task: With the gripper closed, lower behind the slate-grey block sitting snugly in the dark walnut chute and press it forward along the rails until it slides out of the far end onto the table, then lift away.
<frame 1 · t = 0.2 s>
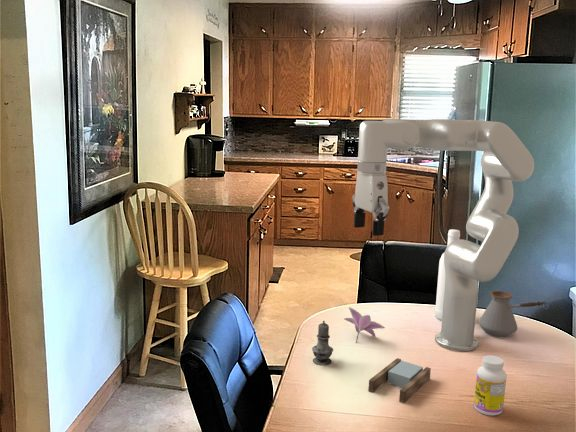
hand: (368, 231, 162), 37 cm above the table, tool pointing down, fingers open, 9 cm apart
coffee pot: (510, 339, 186), on the table
walnut chute: (399, 384, 155), on the table
supplement bottle: (487, 410, 144), on the table
slate block: (404, 381, 157), on the table
bottle: (446, 318, 201), on the table
salt shaker: (322, 361, 167), on the table
lily: (362, 338, 183), on the table
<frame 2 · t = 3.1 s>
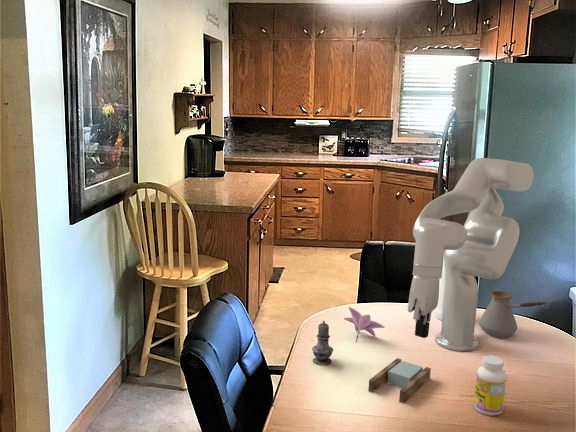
hand: (421, 336, 162), 9 cm above the table, tool pointing down, fingers closed
nothing on the table moved.
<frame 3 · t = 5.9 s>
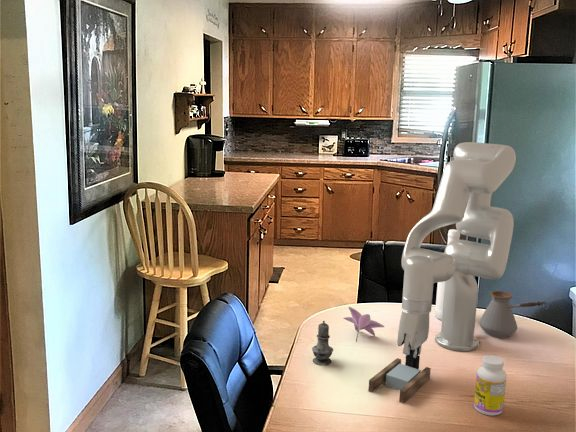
hand: (411, 369, 160), 2 cm above the table, tool pointing down, fingers closed
slate block: (402, 384, 156), on the table, touching gripper
everything else where it was.
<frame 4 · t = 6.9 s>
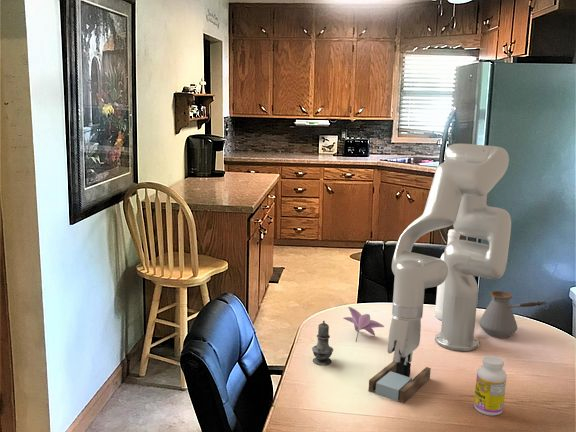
hand: (402, 376, 155), 2 cm above the table, tool pointing down, fingers closed
slate block: (393, 393, 151), on the table, touching gripper
everything else where it was.
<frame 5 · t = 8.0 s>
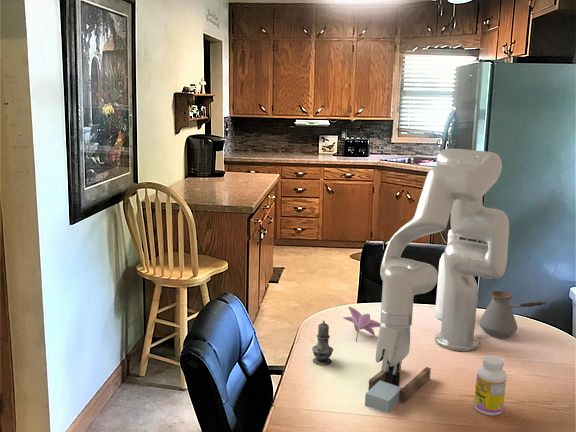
hand: (391, 386, 150), 2 cm above the table, tool pointing down, fingers closed
slate block: (383, 403, 146), on the table, touching gripper
everything else where it was.
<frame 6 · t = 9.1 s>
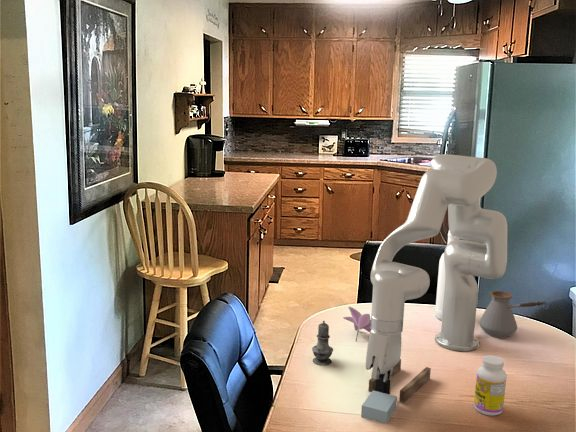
hand: (382, 394, 146), 2 cm above the table, tool pointing down, fingers closed
slate block: (378, 414, 141), on the table
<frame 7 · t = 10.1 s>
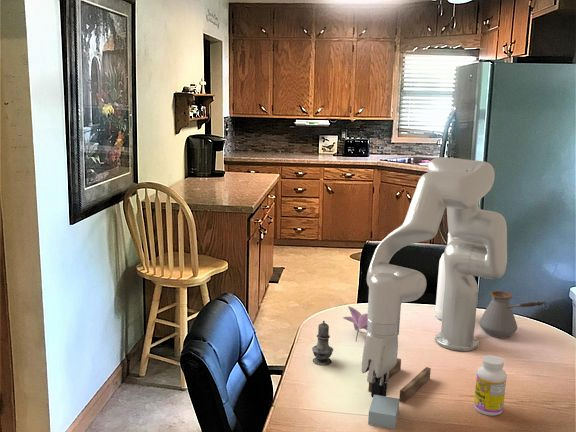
hand: (378, 397, 145), 2 cm above the table, tool pointing down, fingers closed
slate block: (383, 418, 139), on the table
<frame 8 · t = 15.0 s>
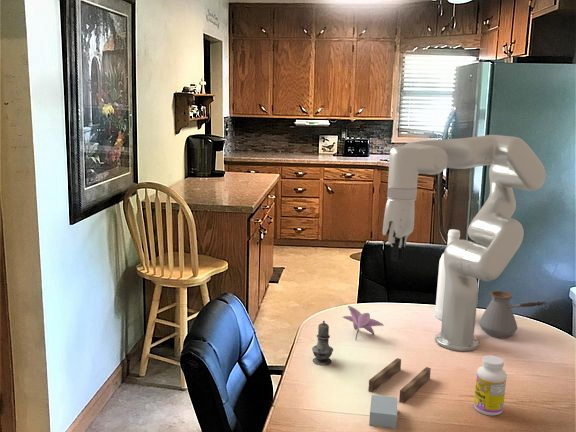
hand: (397, 260, 162), 29 cm above the table, tool pointing down, fingers closed
at the end: slate block inside the target area (4.0 cm from its centre), on the table; slate block tilted 0°; slate block moved 20.2 cm from its start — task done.
